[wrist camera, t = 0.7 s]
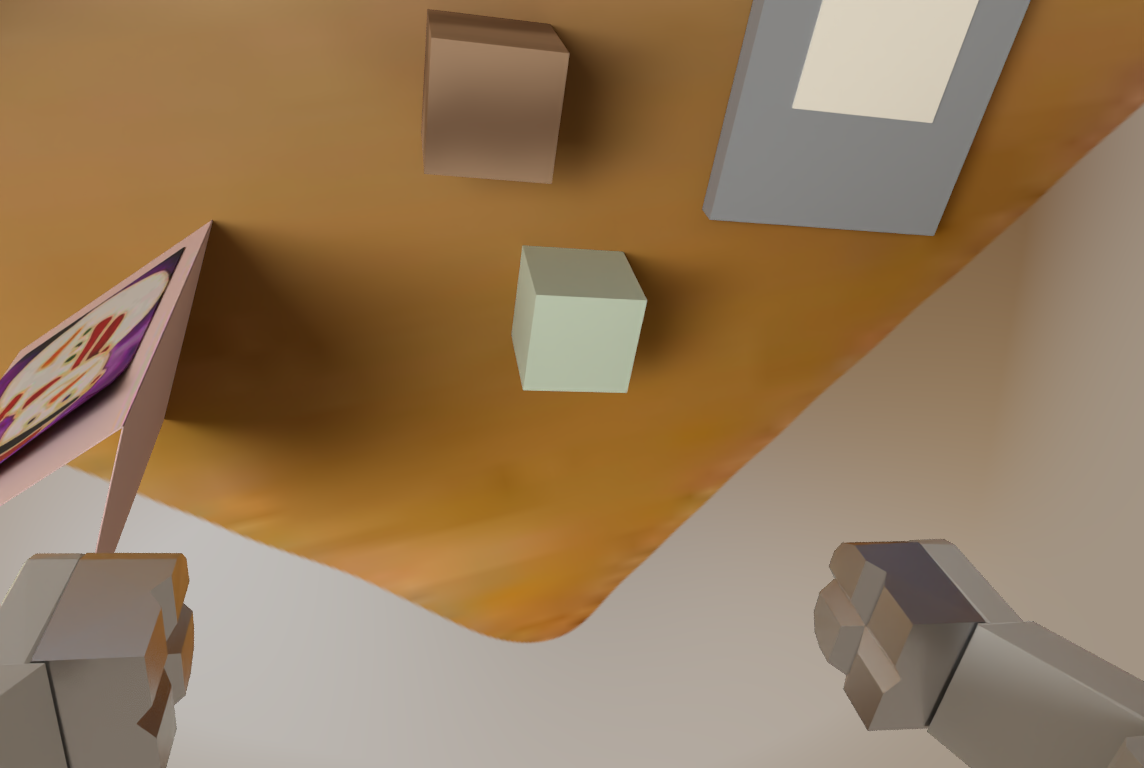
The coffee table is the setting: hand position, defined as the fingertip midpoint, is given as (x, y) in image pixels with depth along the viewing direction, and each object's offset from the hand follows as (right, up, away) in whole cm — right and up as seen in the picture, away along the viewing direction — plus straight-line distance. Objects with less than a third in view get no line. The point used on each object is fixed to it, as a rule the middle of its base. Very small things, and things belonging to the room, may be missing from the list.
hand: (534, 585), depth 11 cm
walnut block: (-3, +15, +25) cm, 30 cm away
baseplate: (+14, +18, +27) cm, 35 cm away
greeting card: (-19, +5, +29) cm, 35 cm away
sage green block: (0, +7, +32) cm, 33 cm away
